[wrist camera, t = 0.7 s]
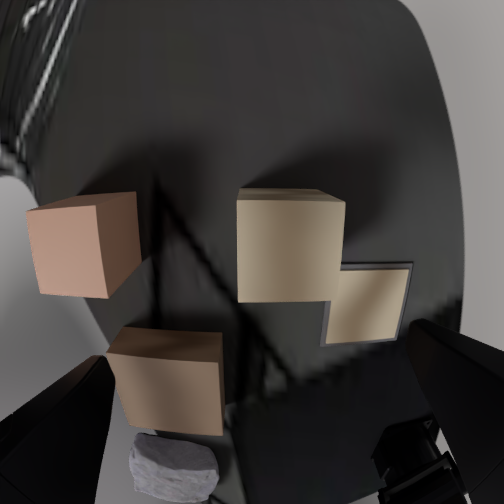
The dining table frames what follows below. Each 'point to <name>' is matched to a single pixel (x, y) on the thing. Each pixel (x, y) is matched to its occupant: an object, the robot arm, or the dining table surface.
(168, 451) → the stone block
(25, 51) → the dining table surface
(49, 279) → the terracotta block
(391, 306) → the tile
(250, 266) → the oak block
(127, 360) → the walnut base block
